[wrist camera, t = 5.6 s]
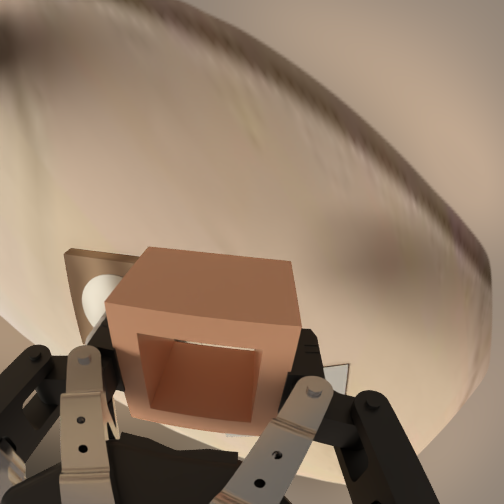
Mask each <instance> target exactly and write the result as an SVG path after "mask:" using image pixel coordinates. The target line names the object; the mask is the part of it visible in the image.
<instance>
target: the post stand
mask: <svg viewBox="0 0 504 504" xmlns="http://www.w3.org/2000/svg"><path fill="white" fill-rule="evenodd" d="M64 259H65V265H66V271H67V277H68V282H69V287H70V292H71V297H72V302H73V306H74V311H75V315H76V319H77V323H78V327H79V331H80V335H81V339H82V342H83V344H85V345H87V344H88V342H89V341H90V339H91V338H92V336H93V335H94V333H95V332H96V330H97V329H98V327H99V326H100V325H101V323H102V322H103V320H104V319H105V317H106V316H107V315H106V310H105V304H104V301H105V300H106V299H107V298H108V296H109V295H110V294H111V292H112V291H113V290H114V289H115V287H116V286H117V285H118V283H119V282H120V281H121V280H122V278H123V277H124V276H125V275H126V273H127V272H128V271H129V270H130V268H131V267H132V266H133V265H134V264H135V262H136V261H137V260H138V259H139V257H137V256H128V255H120V254H112V253H104V252H96V251H88V250H81V249H73V248H71V249H69V250H68V251H67V252H65V253H64ZM174 341H177V339H174Z"/></svg>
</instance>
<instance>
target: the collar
mask: <svg viewBox="0 0 504 504" xmlns="http://www.w3.org/2000/svg"><path fill="white" fill-rule="evenodd" d="M104 304H105V310H106V315H107V321H108V326H109V331H110V336H111V340H112V345H113V348H115V350H116V354H117V359H118V363H119V367H120V371H121V375H122V379H123V383H124V387H125V392H124V393H125V397H126V400H127V403H128V407H129V410H130V413H131V416H132V417H135V418H139V419H143V420H148V421H152V422H157V423H162V424H167V425H173V426H178V427H184V428H190V429H197V430H204V431H211V432H219V433H228V434H238V435H249V436H261V434H262V433H263V431H264V430H265V428H266V427H267V425H268V424H269V422H270V421H271V419H272V418H276V417H277V415H278V408H279V404H280V401H281V397H282V393H283V389H284V385H285V381H286V377H287V373H288V372H291V369H292V365H293V361H294V357H295V353H296V349H297V345H298V341H299V336H300V332H301V328H302V325H301V318H300V312H299V306H298V300H297V294H296V288H295V282H294V276H293V270H292V265H291V261H283V260H273V259H263V258H253V257H243V256H234V255H224V254H214V253H205V252H195V251H186V250H176V249H167V248H157V247H148V248H147V249H146V250H145V251H144V253H143V254H142V255H141V256H140V257H139V259H138V260H137V261H136V262H135V264H134V265H133V266H132V267H131V268H130V270H129V271H128V272H127V273H126V275H125V276H124V277H123V278H122V280H121V281H120V282H119V283H118V285H117V286H116V287H115V289H114V290H113V291H112V292H111V294H110V295H109V296H108V298H107V299H106V300H105V301H104ZM174 339H177V340H184V341H191V342H199V343H206V344H214V345H223V346H232V347H241V348H251V349H255V351H250V350H240V349H230V348H221V347H213V346H205V345H198V344H190V343H183V342H177V341H174Z"/></svg>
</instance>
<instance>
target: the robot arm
mask: <svg viewBox="0 0 504 504" xmlns="http://www.w3.org/2000/svg"><path fill="white" fill-rule="evenodd" d="M34 390H36V392H37V393H36V394H35V395H34V397H33V398H32V399H31V400H30V401H29V403H28V404H27V405H26V406H25V407H24V408H23V409H22V406H23V403H24V401H25V400H26V399H27V398H28V397H29V395H30V394H31V393H32V392H33V391H34ZM115 390H119V391H123V392H125V387H124V383H123V379H122V375H121V371H120V367H119V363H118V359H117V354H116V350H115V348H113V345H112V340H111V336H110V331H109V326H108V321H107V316H106V317H105V319H104V320H103V322H102V323H101V325H100V326H99V327H98V329H97V330H96V332H95V333H94V335H93V336H92V338H91V339H90V341H89V342H88V344H87V345H83V346H79V347H76V348H74V349H73V350H72V351H71V352H70V353H69V355H68V356H52V355H51V353H50V350H49V349H48V348H47V347H46V346H44V345H33V346H30V347H28V348H27V349H26V350H24V351H23V352H22V353H21V354H20V355H19V356H18V357H17V358H16V359H15V360H14V361H13V362H12V363H11V364H10V365H9V366H8V367H7V368H6V369H5V370H4V371H3V372H2V373H1V374H0V504H292V503H291V502H290V501H289V500H288V499H287V498H286V497H285V496H284V495H285V493H286V491H287V489H288V487H289V485H290V484H291V482H292V480H293V478H294V476H295V474H296V473H297V471H298V469H299V467H300V465H301V463H302V461H303V459H304V457H305V455H306V453H307V451H308V449H309V447H310V445H311V443H312V441H316V442H320V443H324V444H328V445H332V446H334V449H335V452H336V455H337V458H338V461H339V464H340V467H341V470H342V473H343V476H344V479H345V482H346V485H347V488H348V491H349V494H350V497H351V500H352V503H353V504H440V503H439V501H438V499H437V497H436V495H435V493H434V491H433V488H432V486H431V484H430V482H429V480H428V478H427V476H426V474H425V472H424V470H423V468H422V465H421V463H420V461H419V459H418V457H417V455H416V453H415V451H414V449H413V447H412V445H411V443H410V441H409V439H408V437H407V435H406V433H405V432H404V430H403V428H402V426H401V424H400V422H399V420H398V418H397V416H396V414H395V412H394V410H393V409H392V407H391V405H390V403H389V401H388V399H387V398H386V397H385V396H384V395H382V394H381V393H379V392H376V391H372V390H366V391H362V392H360V393H359V394H358V395H357V396H356V397H352V396H348V395H344V394H341V393H338V392H336V391H334V390H333V387H332V385H331V384H330V383H329V382H328V381H327V380H326V379H325V375H324V369H323V364H322V359H321V354H320V349H319V345H318V340H317V336H316V335H315V334H314V333H313V332H312V330H311V329H302V328H301V332H300V336H299V341H298V345H297V349H296V353H295V357H294V361H293V365H292V369H291V372H288V373H287V377H286V381H285V385H284V389H283V393H282V397H281V401H280V404H279V408H278V415H277V417H276V418H272V419H271V421H270V422H269V424H268V425H267V427H266V428H265V430H264V431H263V433H262V434H261V436H260V437H259V439H258V440H257V442H256V443H255V445H254V446H253V448H252V449H251V451H250V452H249V454H248V455H247V457H246V458H245V459H244V461H240V460H238V452H230V451H221V450H211V449H202V450H181V451H179V450H174V449H171V448H169V447H166V446H164V445H162V444H159V443H158V442H155V441H153V440H151V439H149V438H145V437H140V436H136V435H132V434H128V433H124V432H122V433H121V436H120V435H119V430H118V423H117V417H116V410H115V403H114V398H113V394H114V392H115ZM59 416H60V445H61V462H60V463H58V464H56V465H54V466H52V467H50V468H48V469H46V470H44V471H42V472H40V473H38V474H36V475H34V476H32V477H30V478H28V479H26V476H25V470H26V469H25V463H26V461H27V460H28V458H29V457H30V455H31V454H32V453H33V451H34V450H35V449H36V447H37V446H38V444H39V443H40V442H41V440H42V439H43V437H44V436H45V435H46V434H47V432H48V431H49V429H50V428H51V427H52V425H53V424H54V423H55V421H56V420H57V419H58V417H59Z"/></svg>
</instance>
